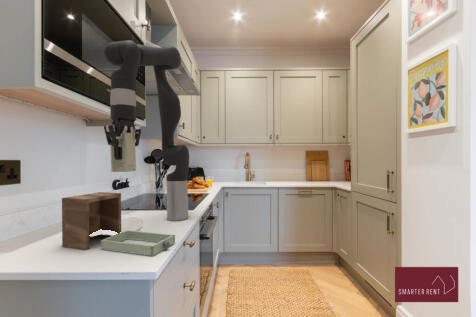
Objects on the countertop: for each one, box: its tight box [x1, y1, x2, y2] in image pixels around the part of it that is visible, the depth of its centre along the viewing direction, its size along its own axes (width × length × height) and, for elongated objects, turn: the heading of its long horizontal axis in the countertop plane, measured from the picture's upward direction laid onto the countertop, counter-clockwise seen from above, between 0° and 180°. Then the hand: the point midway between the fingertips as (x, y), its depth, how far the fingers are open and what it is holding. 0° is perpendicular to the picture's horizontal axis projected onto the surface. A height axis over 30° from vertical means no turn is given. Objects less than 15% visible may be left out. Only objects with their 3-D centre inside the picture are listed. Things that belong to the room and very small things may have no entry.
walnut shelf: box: [61, 191, 122, 251], centre depth 86 cm, size 14×10×15 cm, turn 162°
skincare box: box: [109, 133, 137, 173], centre depth 82 cm, size 6×4×12 cm
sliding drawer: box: [100, 229, 176, 256], centre depth 80 cm, size 11×20×2 cm, turn 72°
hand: (124, 159), depth 82 cm, fingers closed on skincare box, 4 cm apart
